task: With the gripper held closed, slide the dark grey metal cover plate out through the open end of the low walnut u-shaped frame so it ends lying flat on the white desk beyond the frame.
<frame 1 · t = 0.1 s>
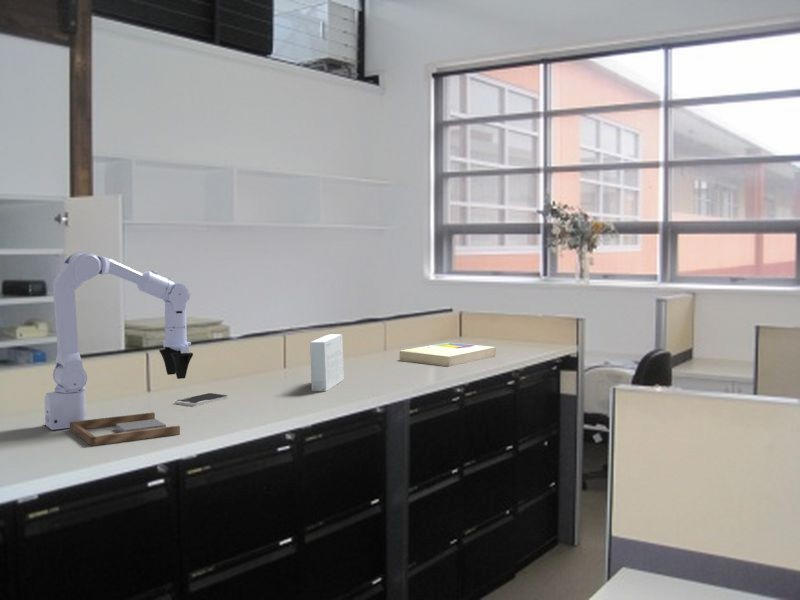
hand: (176, 376, 225), 10 cm above the worktop, tool pointing down, fingers open, 7 cm apart
puzzle box: (448, 360, 335), on the worktop
skincare box: (327, 386, 270), on the worktop
cover plate: (140, 432, 206), on the worktop
walnut u-shaped frame: (124, 432, 203), on the worktop
smartphone: (201, 403, 243), on the worktop
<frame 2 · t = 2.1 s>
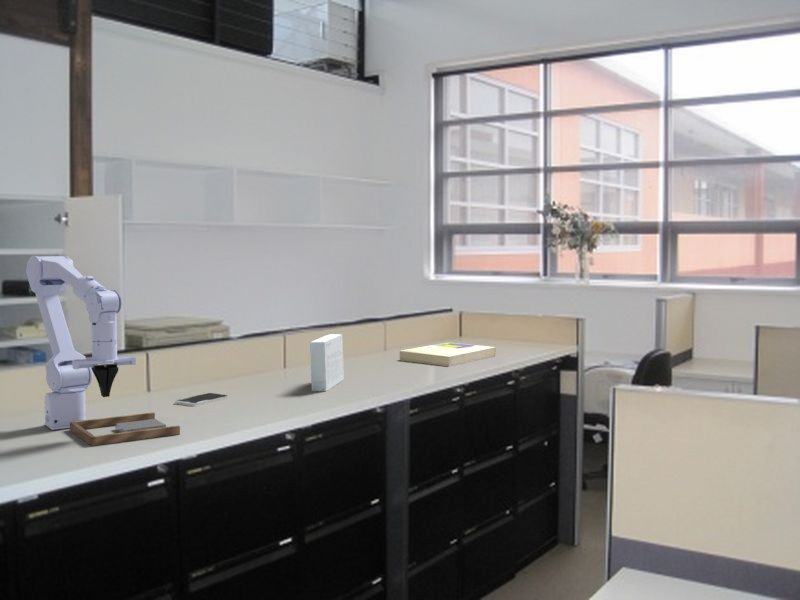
hand: (105, 396, 200), 9 cm above the worktop, tool pointing down, fingers closed
nothing on the worktop moved.
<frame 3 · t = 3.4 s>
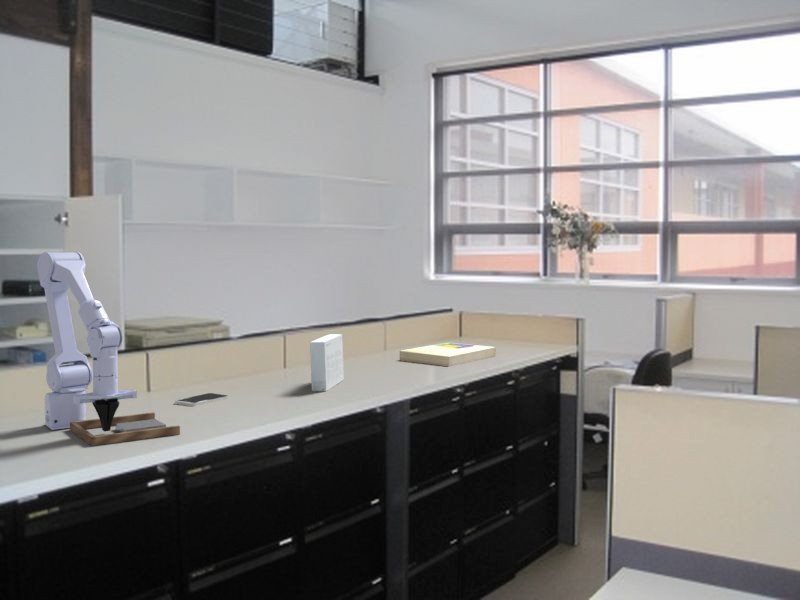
hand: (106, 430, 201), 1 cm above the worktop, tool pointing down, fingers closed
nothing on the worktop moved.
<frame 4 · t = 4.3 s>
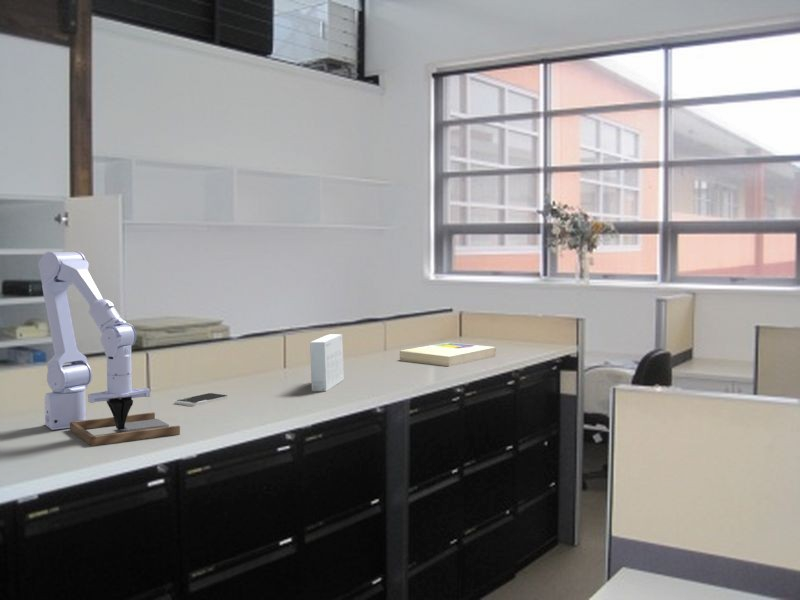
hand: (120, 428, 203), 1 cm above the worktop, tool pointing down, fingers closed
cover plate: (143, 431, 206), on the worktop, touching gripper
everything else where it was.
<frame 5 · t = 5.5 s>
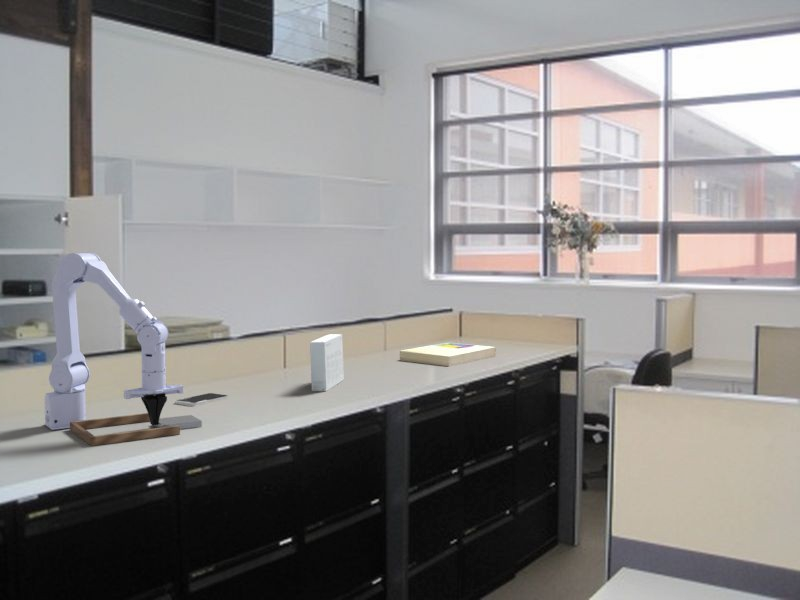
hand: (154, 424, 207), 1 cm above the worktop, tool pointing down, fingers closed
cover plate: (177, 427, 211), on the worktop, touching gripper
everything else where it was.
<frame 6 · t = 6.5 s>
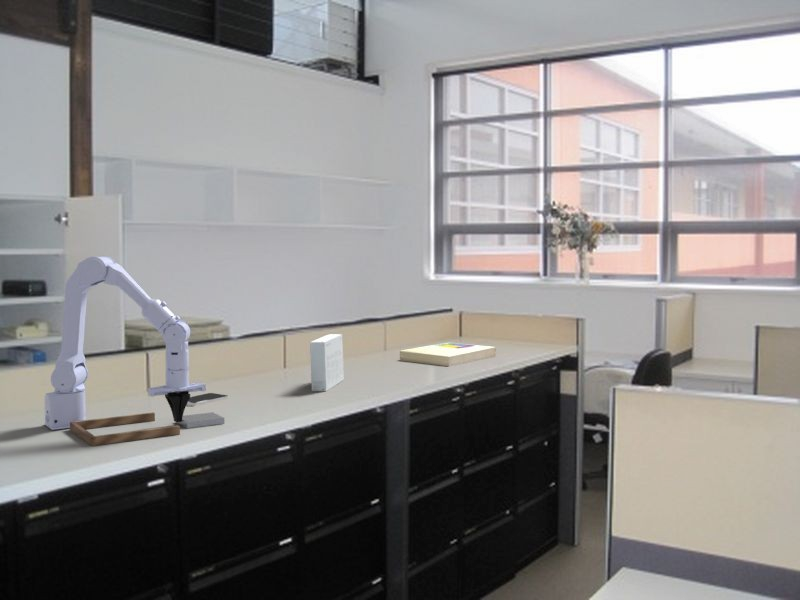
hand: (177, 421, 211), 1 cm above the worktop, tool pointing down, fingers closed
cover plate: (200, 424, 214), on the worktop, touching gripper
everything else where it was.
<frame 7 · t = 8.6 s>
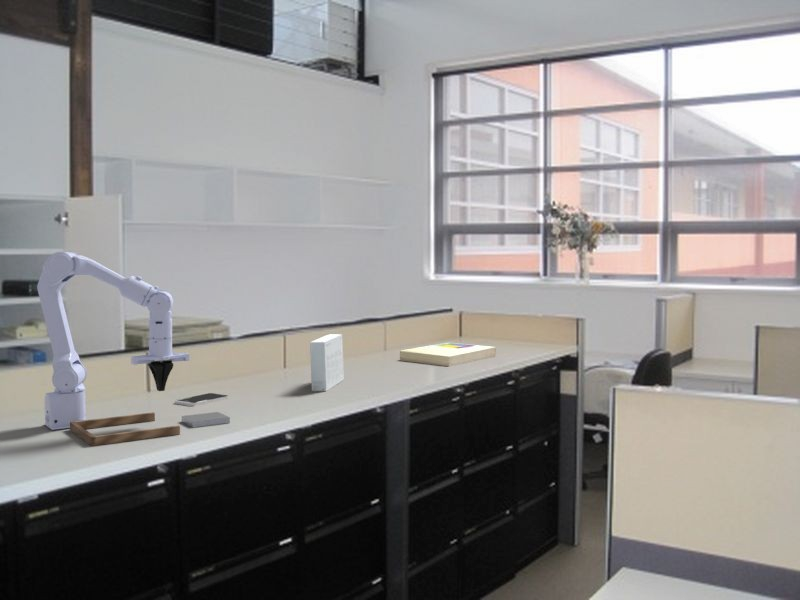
hand: (160, 390, 213), 9 cm above the worktop, tool pointing down, fingers closed
cover plate: (205, 424, 215), on the worktop
everything else where it was.
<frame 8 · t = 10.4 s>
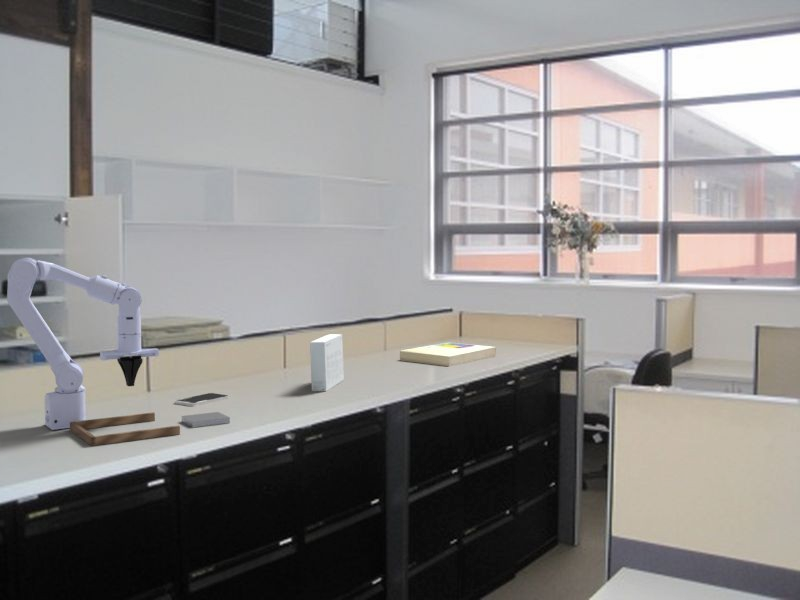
hand: (130, 385, 214), 9 cm above the worktop, tool pointing down, fingers closed
nothing on the worktop moved.
at the end: cover plate inside the target area (2.7 cm from its centre), on the worktop; cover plate touching worktop; cover plate tilted 0° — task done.
